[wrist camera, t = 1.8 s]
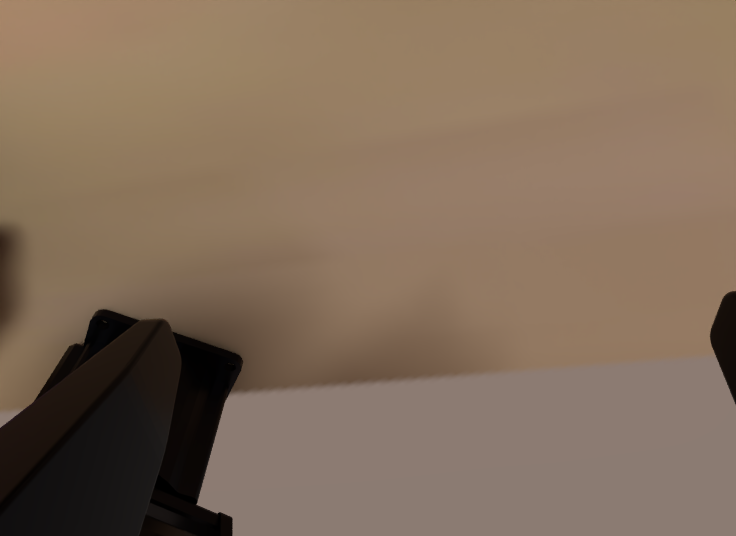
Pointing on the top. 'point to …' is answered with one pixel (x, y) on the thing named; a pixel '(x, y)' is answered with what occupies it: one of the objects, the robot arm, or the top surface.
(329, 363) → the top surface
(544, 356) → the top surface
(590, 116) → the top surface
